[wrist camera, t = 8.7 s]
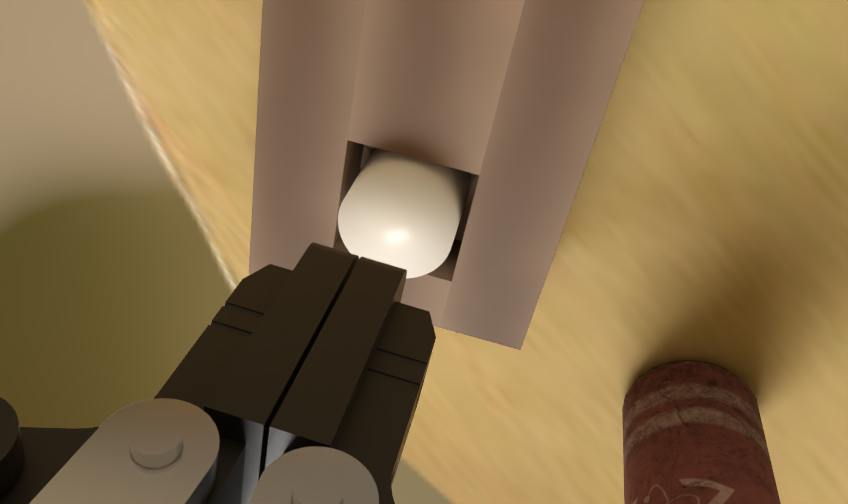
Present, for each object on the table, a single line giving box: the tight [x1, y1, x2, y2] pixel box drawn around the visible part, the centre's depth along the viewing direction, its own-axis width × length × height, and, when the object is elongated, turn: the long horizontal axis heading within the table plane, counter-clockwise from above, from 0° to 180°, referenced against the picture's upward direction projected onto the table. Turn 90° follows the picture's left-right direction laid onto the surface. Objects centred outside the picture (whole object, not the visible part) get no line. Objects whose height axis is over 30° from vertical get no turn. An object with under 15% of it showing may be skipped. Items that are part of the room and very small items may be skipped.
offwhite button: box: [338, 148, 470, 278], centre depth 29 cm, size 4×4×4 cm
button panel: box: [249, 0, 645, 350], centre depth 26 cm, size 12×22×4 cm, turn 169°
